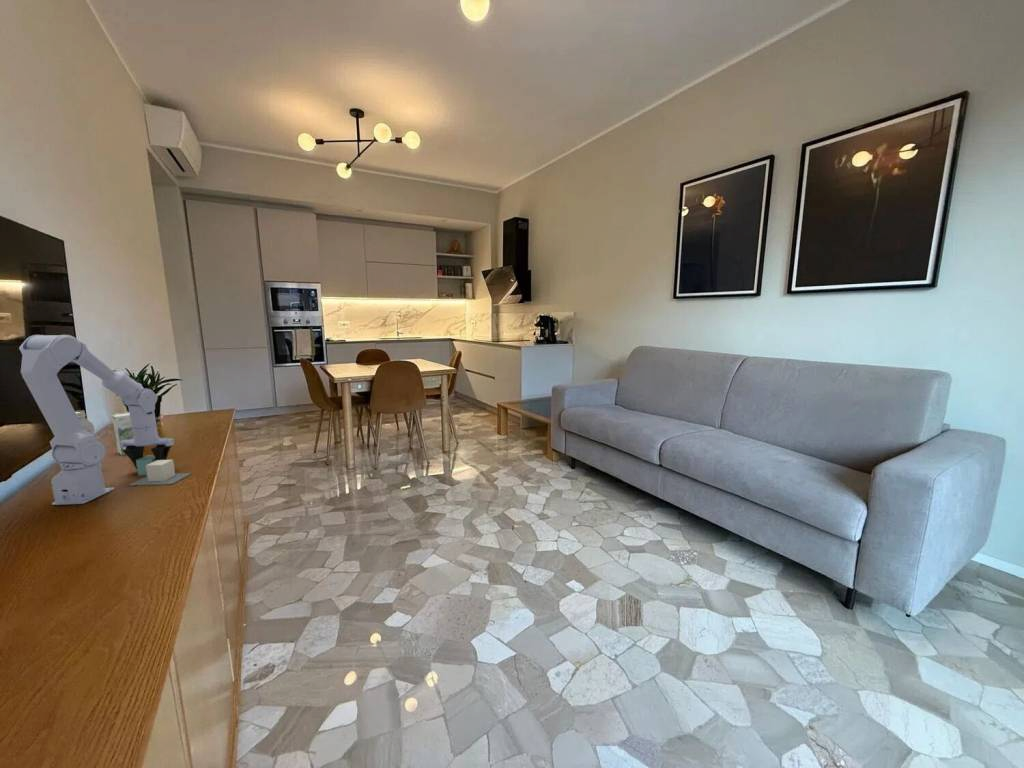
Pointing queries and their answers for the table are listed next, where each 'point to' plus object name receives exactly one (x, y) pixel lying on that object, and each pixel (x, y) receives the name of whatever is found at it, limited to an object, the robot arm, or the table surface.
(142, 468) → the teal block
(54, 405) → the robot arm
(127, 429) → the syrup box
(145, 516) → the table surface
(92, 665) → the table surface
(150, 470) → the cream block
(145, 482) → the slate mat
